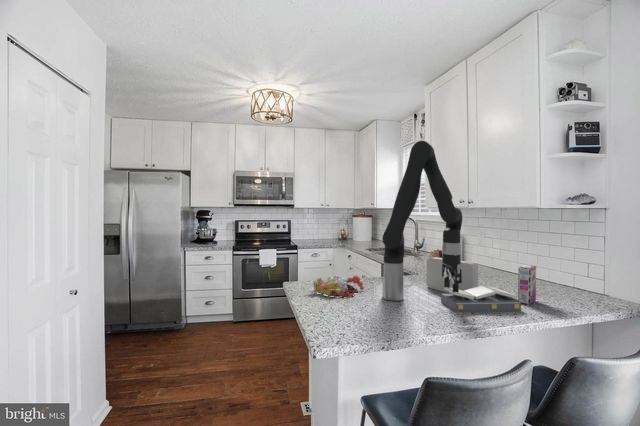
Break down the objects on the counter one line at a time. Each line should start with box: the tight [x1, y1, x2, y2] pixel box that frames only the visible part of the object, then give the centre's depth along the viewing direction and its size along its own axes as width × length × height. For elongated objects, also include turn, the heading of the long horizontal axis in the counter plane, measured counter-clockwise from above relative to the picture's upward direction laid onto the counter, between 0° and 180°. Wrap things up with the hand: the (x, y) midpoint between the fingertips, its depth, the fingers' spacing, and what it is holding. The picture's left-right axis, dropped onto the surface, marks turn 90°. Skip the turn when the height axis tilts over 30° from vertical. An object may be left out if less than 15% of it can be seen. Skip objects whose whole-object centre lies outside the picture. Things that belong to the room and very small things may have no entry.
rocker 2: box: [464, 285, 496, 299], centre depth 140 cm, size 8×11×1 cm
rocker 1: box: [444, 287, 474, 299], centre depth 139 cm, size 8×11×1 cm
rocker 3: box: [484, 285, 518, 300], centre depth 140 cm, size 8×11×1 cm
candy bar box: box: [517, 264, 537, 306], centre depth 147 cm, size 11×5×16 cm, turn 134°
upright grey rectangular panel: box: [426, 256, 479, 294], centre depth 166 cm, size 27×7×17 cm, turn 33°
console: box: [440, 293, 522, 313], centre depth 140 cm, size 28×14×5 cm, turn 92°
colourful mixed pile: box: [312, 274, 365, 299], centre depth 165 cm, size 25×24×9 cm
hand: (451, 290), depth 139 cm, fingers open, 8 cm apart
